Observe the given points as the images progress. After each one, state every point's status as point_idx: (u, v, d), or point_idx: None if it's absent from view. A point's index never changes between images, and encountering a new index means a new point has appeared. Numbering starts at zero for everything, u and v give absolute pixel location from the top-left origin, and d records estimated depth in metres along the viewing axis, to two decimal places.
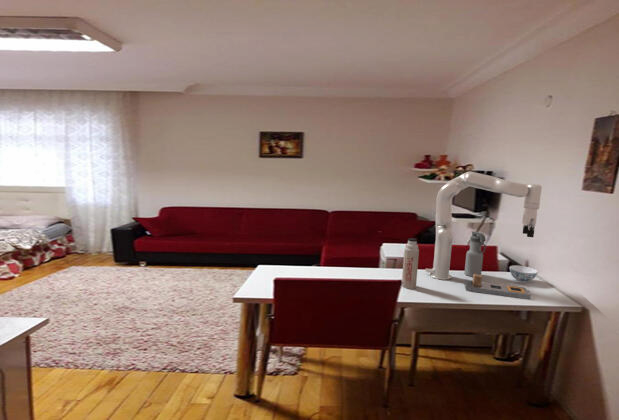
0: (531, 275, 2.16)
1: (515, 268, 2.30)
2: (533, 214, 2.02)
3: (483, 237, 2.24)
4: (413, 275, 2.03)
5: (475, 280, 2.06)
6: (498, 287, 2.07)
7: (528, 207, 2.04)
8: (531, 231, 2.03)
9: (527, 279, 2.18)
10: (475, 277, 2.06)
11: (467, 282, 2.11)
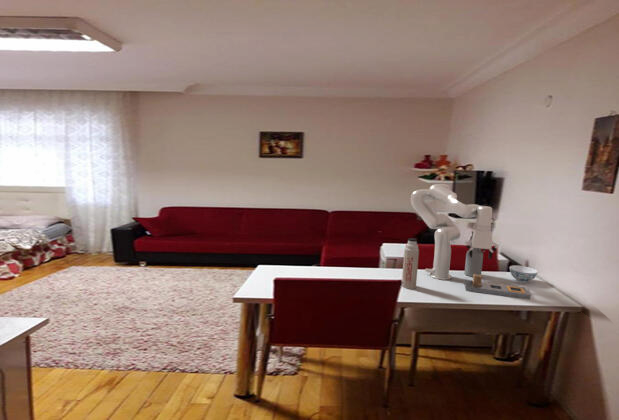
0: (531, 275, 2.16)
1: (515, 268, 2.30)
2: None
3: None
4: (413, 275, 2.03)
5: (475, 280, 2.06)
6: (498, 287, 2.07)
7: (489, 230, 2.00)
8: None
9: (527, 279, 2.18)
10: (475, 277, 2.06)
11: (467, 282, 2.11)
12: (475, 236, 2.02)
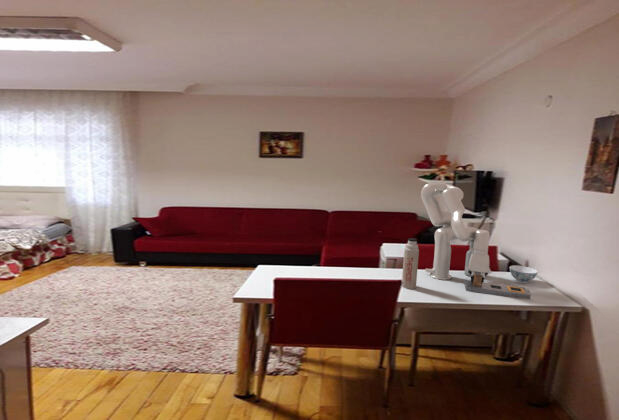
0: (531, 275, 2.16)
1: (515, 268, 2.30)
2: None
3: None
4: (413, 275, 2.03)
5: (475, 280, 2.06)
6: (498, 287, 2.07)
7: (486, 254, 2.02)
8: (483, 277, 2.06)
9: (527, 279, 2.18)
10: (475, 277, 2.06)
11: (467, 282, 2.11)
12: (472, 259, 2.04)
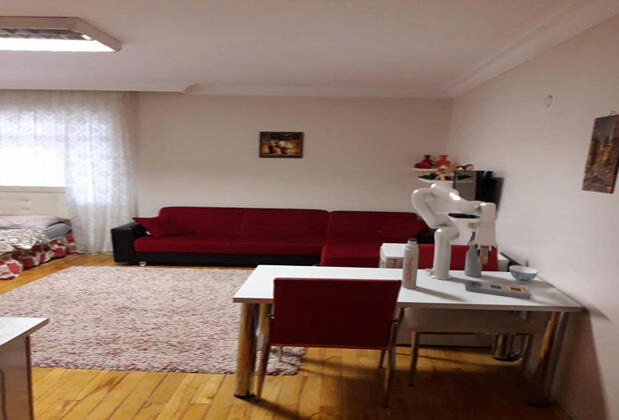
0: (531, 275, 2.16)
1: (515, 268, 2.30)
2: None
3: None
4: (413, 275, 2.03)
5: (482, 253, 2.03)
6: (498, 287, 2.07)
7: (492, 227, 1.99)
8: None
9: (527, 279, 2.18)
10: (481, 250, 2.03)
11: (467, 282, 2.11)
12: (478, 233, 2.01)
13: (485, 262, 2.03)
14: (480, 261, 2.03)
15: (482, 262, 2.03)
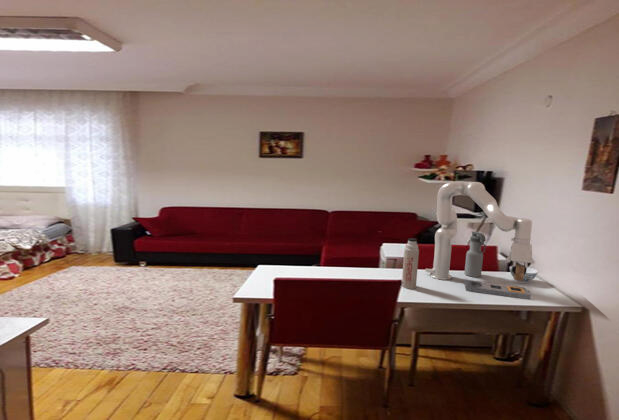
0: (531, 275, 2.16)
1: None
2: None
3: (483, 237, 2.24)
4: (413, 275, 2.03)
5: (517, 270, 1.98)
6: (498, 287, 2.07)
7: (529, 243, 1.95)
8: None
9: (527, 279, 2.18)
10: (517, 267, 1.98)
11: (467, 282, 2.11)
12: (514, 249, 1.97)
13: (521, 279, 1.98)
14: (516, 278, 1.99)
15: (518, 279, 1.99)
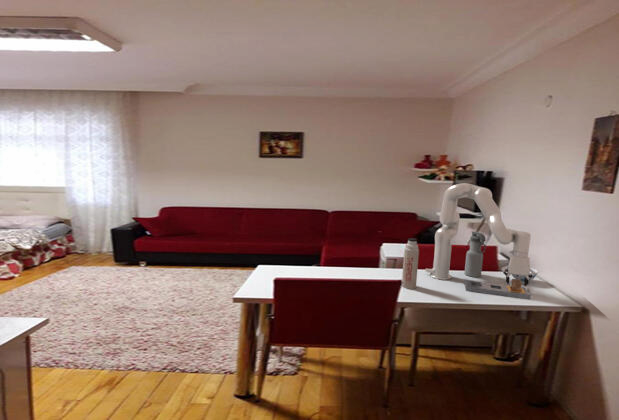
0: None
1: None
2: None
3: (483, 237, 2.24)
4: (413, 275, 2.03)
5: (515, 285, 2.00)
6: (498, 287, 2.07)
7: (527, 256, 1.96)
8: None
9: None
10: (514, 282, 2.00)
11: (467, 282, 2.11)
12: (512, 262, 1.98)
13: None
14: None
15: None
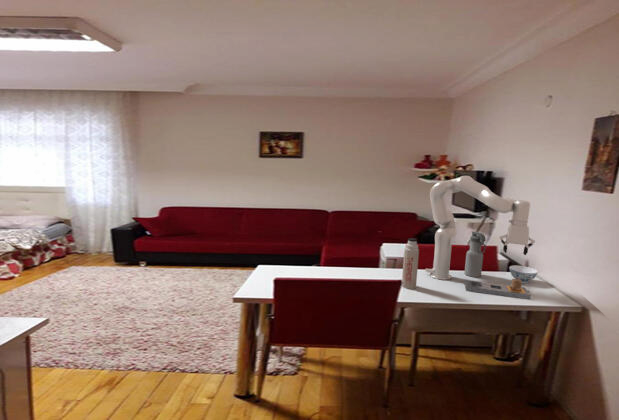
0: (531, 275, 2.16)
1: (515, 268, 2.30)
2: None
3: (483, 237, 2.24)
4: (413, 275, 2.03)
5: (515, 285, 2.00)
6: (498, 287, 2.07)
7: (526, 225, 1.95)
8: None
9: (527, 279, 2.18)
10: (514, 282, 2.00)
11: (467, 282, 2.11)
12: (511, 231, 1.98)
13: None
14: None
15: None
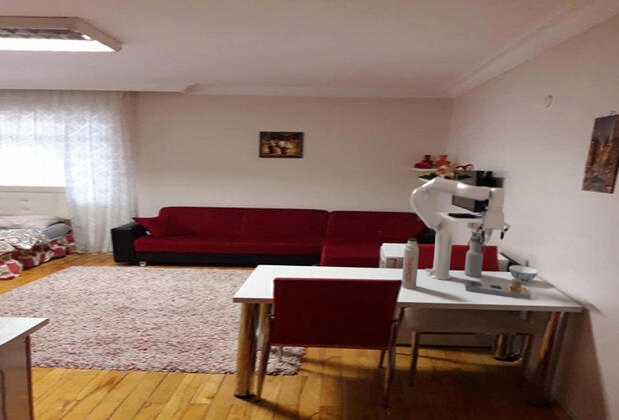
0: (531, 275, 2.16)
1: (515, 268, 2.30)
2: None
3: None
4: (413, 275, 2.03)
5: (514, 285, 2.00)
6: (498, 287, 2.07)
7: (501, 211, 2.06)
8: None
9: (527, 279, 2.18)
10: (514, 282, 2.00)
11: (467, 282, 2.11)
12: (488, 217, 2.08)
13: None
14: None
15: None
